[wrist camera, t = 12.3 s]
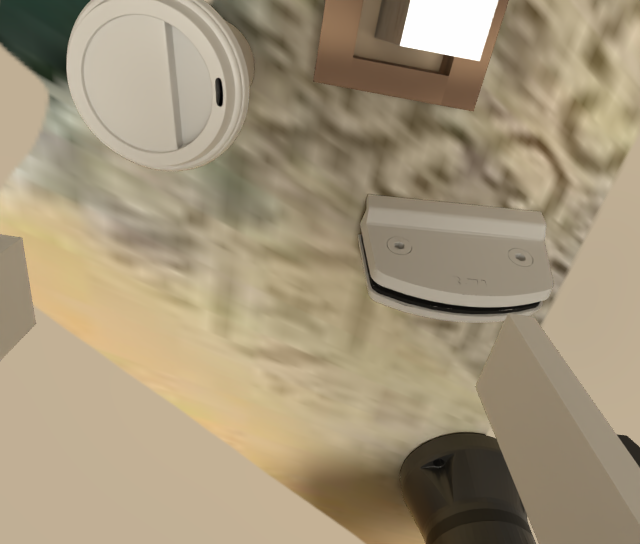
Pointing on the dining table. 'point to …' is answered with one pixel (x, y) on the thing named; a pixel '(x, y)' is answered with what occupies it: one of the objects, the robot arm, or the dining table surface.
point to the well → (395, 59)
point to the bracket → (437, 25)
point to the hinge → (454, 259)
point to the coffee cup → (160, 80)
